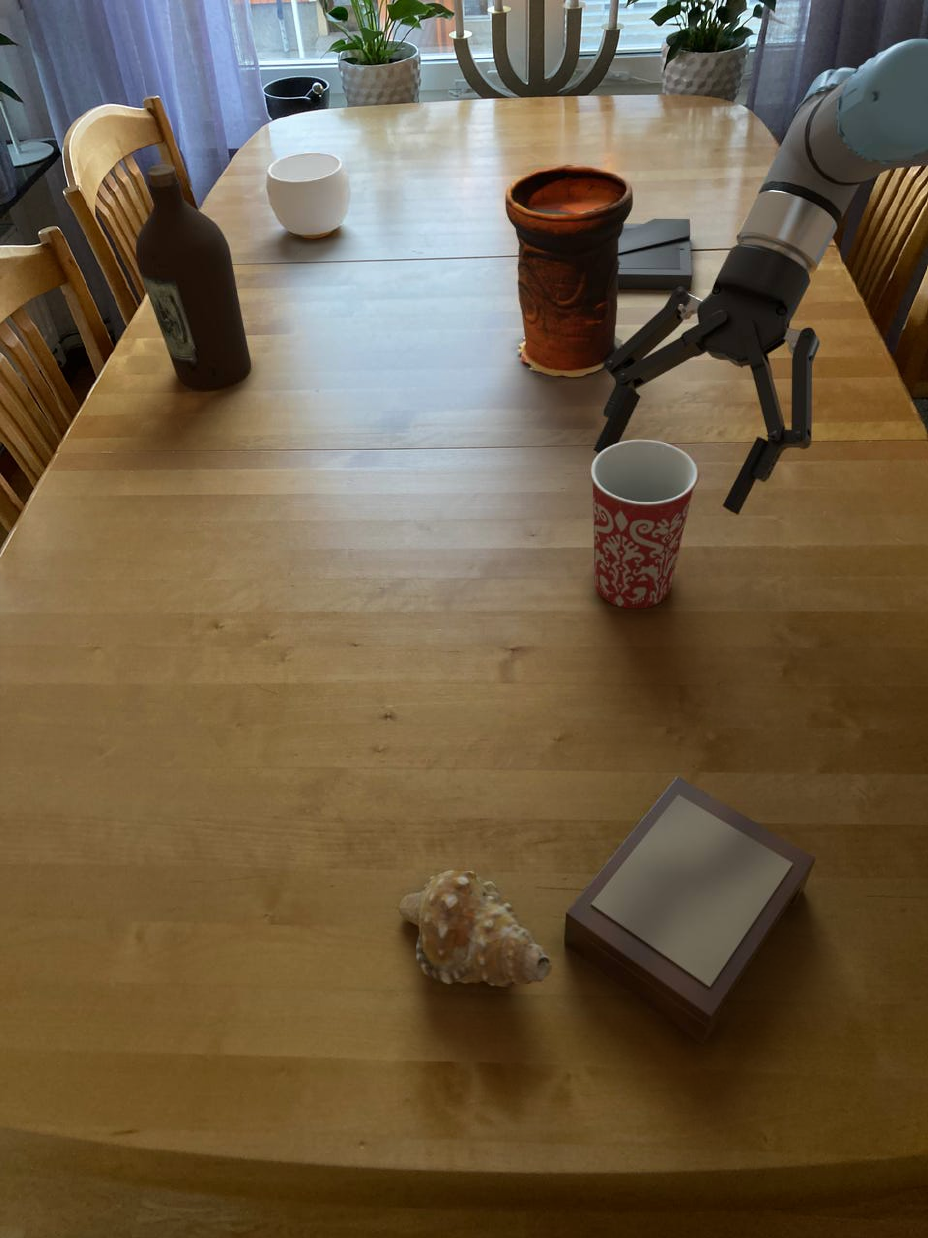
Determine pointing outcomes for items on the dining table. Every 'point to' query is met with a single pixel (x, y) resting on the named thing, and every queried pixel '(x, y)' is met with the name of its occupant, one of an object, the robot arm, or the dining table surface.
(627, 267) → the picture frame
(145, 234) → the olive oil
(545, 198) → the vessel
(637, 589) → the mug
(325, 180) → the cup
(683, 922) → the brown rectangular block
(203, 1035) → the dining table surface
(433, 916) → the seashell
